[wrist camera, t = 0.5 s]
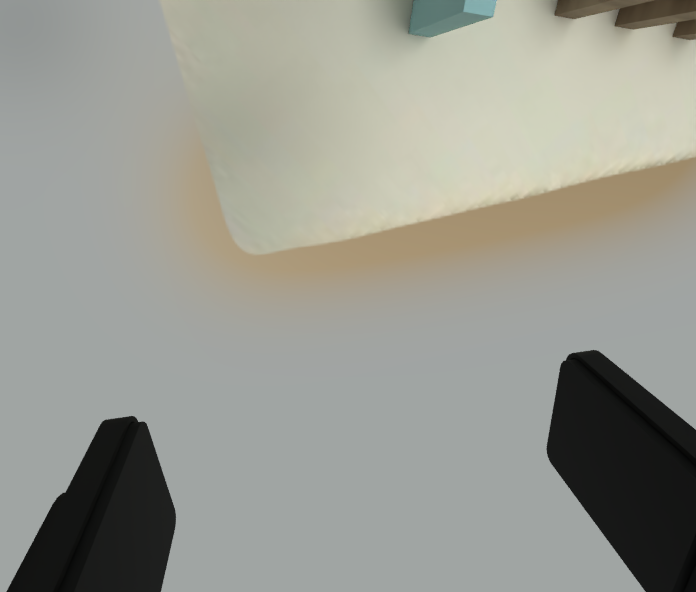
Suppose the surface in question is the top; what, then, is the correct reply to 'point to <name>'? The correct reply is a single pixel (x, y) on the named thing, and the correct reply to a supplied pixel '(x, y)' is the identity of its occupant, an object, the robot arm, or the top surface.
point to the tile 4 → (686, 30)
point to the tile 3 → (656, 13)
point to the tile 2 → (591, 7)
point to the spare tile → (447, 15)
